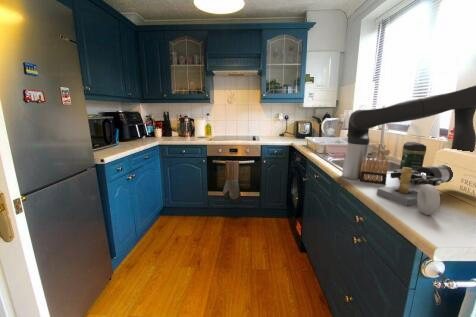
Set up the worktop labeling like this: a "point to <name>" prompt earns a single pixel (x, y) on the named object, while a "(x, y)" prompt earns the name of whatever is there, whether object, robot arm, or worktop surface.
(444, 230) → the worktop surface
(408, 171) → the dowel
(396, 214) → the worktop surface
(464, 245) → the worktop surface
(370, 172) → the ammunition clip
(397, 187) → the socket block
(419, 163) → the coffee jar
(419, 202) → the donut
